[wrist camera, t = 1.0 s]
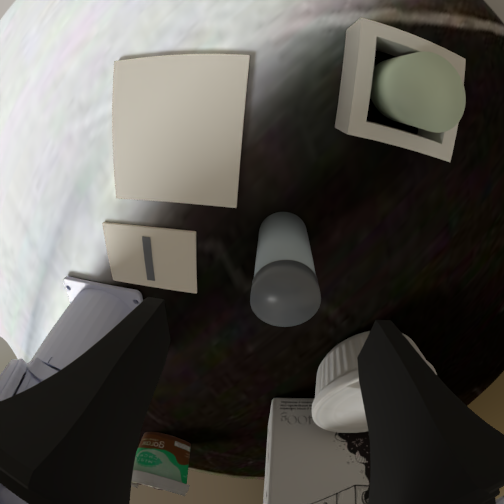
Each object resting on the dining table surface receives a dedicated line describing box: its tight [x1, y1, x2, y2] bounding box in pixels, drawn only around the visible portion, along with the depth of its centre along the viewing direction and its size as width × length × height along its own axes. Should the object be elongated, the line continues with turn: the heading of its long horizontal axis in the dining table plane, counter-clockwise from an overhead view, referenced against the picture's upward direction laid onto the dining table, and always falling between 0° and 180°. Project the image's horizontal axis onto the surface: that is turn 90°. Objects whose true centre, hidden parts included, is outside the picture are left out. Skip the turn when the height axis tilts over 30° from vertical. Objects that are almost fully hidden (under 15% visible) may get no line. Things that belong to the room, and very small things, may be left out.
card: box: [102, 222, 197, 294], centre depth 20 cm, size 5×7×1 cm
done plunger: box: [370, 51, 466, 133], centre depth 10 cm, size 4×4×4 cm
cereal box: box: [263, 398, 371, 504], centre depth 18 cm, size 22×8×25 cm, turn 89°
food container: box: [131, 432, 191, 496], centre depth 34 cm, size 12×6×10 cm, turn 119°
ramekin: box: [312, 331, 437, 433], centre depth 22 cm, size 11×11×5 cm
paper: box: [112, 54, 250, 208], centre depth 15 cm, size 9×8×1 cm
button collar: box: [335, 17, 466, 162], centre depth 11 cm, size 6×6×3 cm
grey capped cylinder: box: [250, 212, 321, 327], centre depth 15 cm, size 3×3×6 cm
